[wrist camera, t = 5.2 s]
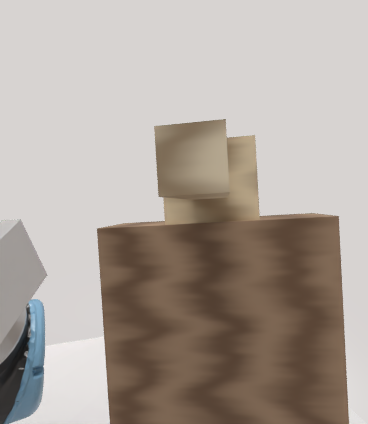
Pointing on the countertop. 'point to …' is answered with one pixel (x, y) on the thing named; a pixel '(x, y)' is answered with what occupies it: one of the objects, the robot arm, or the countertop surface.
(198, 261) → the stand
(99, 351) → the countertop surface
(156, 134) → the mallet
